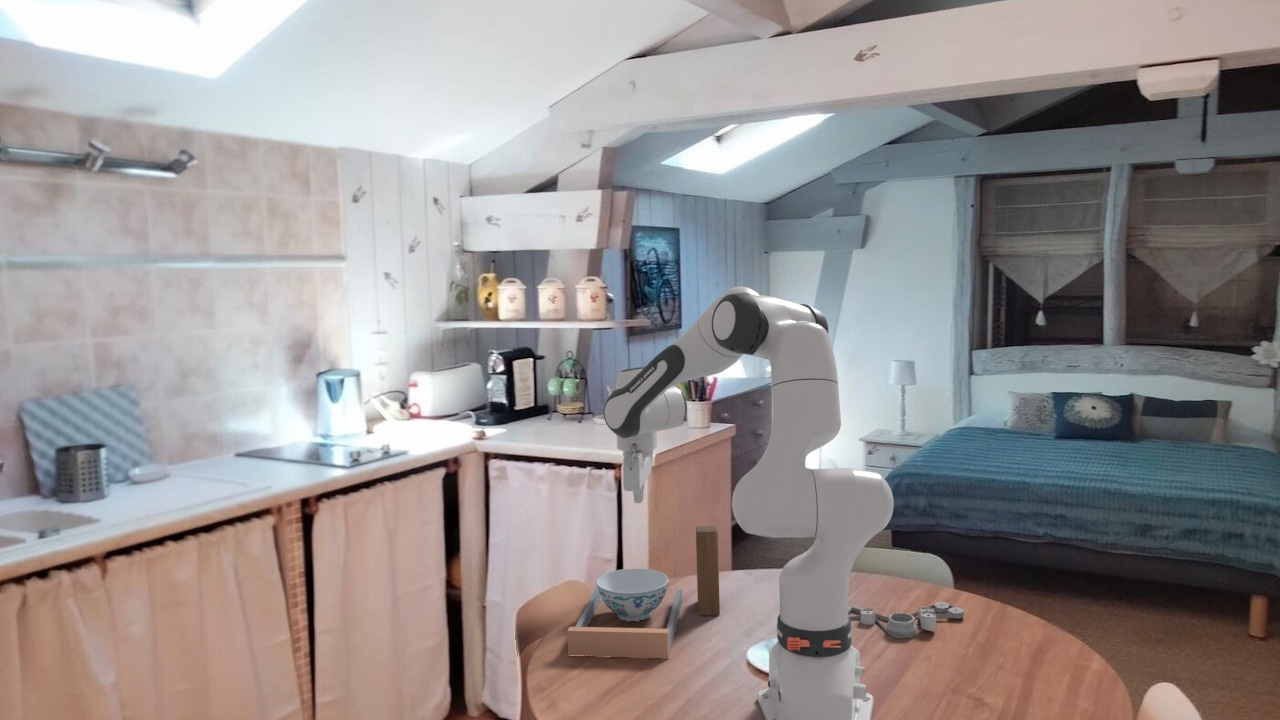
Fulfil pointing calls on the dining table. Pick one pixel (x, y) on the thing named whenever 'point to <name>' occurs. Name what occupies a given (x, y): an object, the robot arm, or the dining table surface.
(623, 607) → the chinaware
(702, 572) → the wooden block
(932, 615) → the pulley system
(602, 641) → the wooden tray
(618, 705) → the dining table surface
